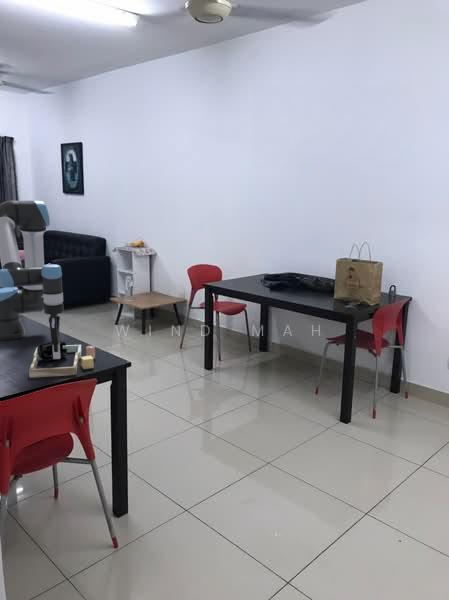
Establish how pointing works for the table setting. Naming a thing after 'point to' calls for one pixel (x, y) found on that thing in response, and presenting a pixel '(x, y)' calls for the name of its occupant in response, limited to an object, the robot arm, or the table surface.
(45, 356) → the black lumpy piece
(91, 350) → the pinkish brown cylinder
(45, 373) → the beige wooden tray
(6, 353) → the table surface
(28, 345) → the table surface
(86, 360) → the mustard block
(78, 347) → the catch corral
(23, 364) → the table surface
